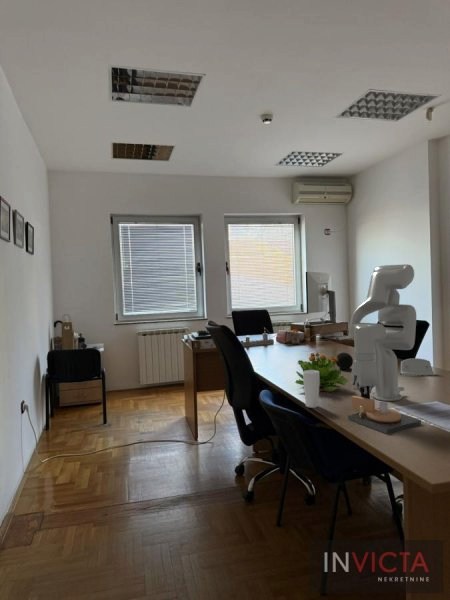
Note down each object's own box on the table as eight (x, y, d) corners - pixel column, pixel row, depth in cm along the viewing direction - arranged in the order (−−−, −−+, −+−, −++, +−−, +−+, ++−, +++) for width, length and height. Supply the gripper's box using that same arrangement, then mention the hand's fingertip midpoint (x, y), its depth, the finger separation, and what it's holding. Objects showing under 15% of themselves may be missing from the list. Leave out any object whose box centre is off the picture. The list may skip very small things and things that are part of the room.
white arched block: (402, 375, 220) (400, 357, 223) (399, 377, 224) (397, 359, 227) (434, 376, 218) (432, 357, 221) (431, 377, 222) (429, 358, 225)
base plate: (381, 411, 163) (381, 397, 162) (421, 424, 147) (421, 409, 146) (348, 419, 154) (347, 405, 154) (386, 434, 138) (386, 418, 138)
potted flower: (304, 397, 185) (303, 359, 184) (283, 385, 208) (282, 351, 207) (352, 392, 191) (351, 355, 191) (326, 380, 214) (326, 348, 214)
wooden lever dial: (360, 406, 164) (360, 393, 163) (406, 416, 150) (406, 401, 150) (345, 413, 155) (344, 399, 155) (392, 424, 142) (392, 409, 142)
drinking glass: (318, 409, 167) (318, 373, 167) (302, 408, 170) (301, 372, 169) (321, 404, 173) (320, 370, 173) (305, 403, 176) (304, 369, 175)
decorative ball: (352, 367, 245) (352, 351, 245) (353, 371, 235) (353, 354, 235) (335, 367, 247) (335, 351, 247) (335, 370, 238) (335, 353, 237)
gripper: (370, 353, 165) (371, 397, 166) (343, 357, 158) (344, 403, 159) (385, 356, 158) (386, 402, 159) (358, 360, 151) (359, 408, 152)
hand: (365, 402), depth 159 cm, fingers closed
